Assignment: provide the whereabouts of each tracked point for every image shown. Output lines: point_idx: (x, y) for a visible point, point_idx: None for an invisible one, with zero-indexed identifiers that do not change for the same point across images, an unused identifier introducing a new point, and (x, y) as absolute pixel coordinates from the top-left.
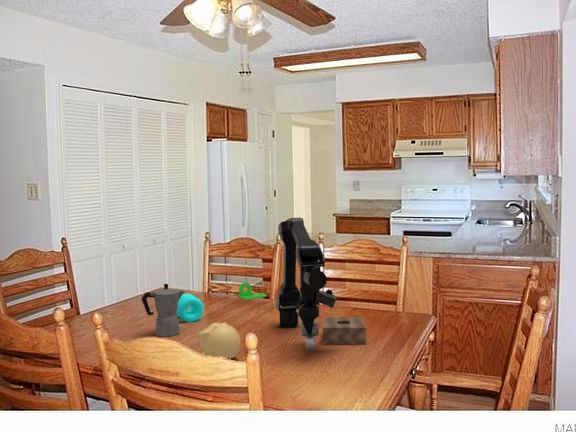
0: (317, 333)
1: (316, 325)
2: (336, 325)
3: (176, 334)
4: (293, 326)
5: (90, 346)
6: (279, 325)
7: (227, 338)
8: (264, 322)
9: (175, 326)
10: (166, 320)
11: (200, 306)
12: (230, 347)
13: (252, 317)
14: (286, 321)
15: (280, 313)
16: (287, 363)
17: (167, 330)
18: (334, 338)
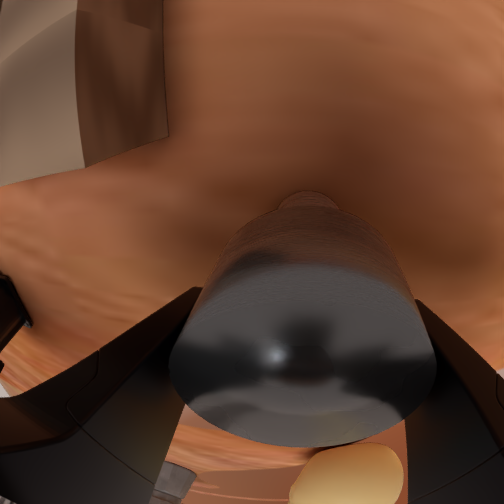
0: (371, 232)
1: (417, 323)
2: (20, 55)
3: (178, 466)
4: (11, 288)
5: (256, 498)
6: (27, 326)
7: (397, 496)
8: (25, 345)
9: (174, 478)
10: (182, 493)
11: None
12: (400, 472)
13: (17, 356)
14: (10, 318)
15: (1, 347)
16: (487, 326)
17: (188, 479)
18: (140, 51)
